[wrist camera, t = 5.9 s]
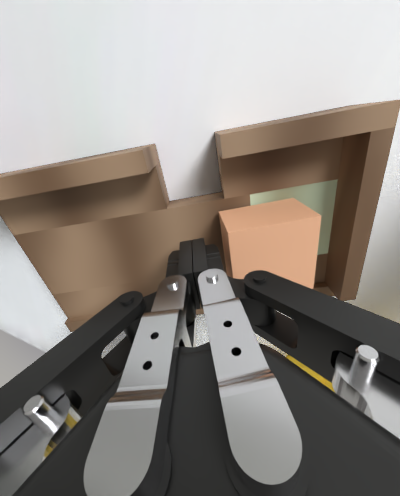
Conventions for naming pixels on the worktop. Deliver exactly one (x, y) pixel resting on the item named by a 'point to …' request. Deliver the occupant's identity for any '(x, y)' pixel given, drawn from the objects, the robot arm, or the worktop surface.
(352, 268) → the box
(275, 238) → the block
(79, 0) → the worktop surface
